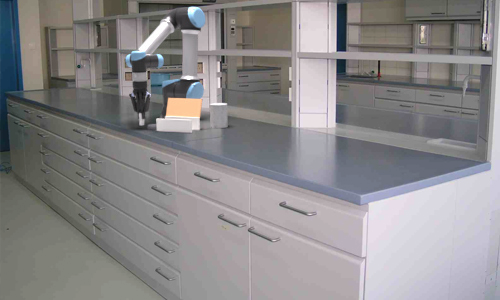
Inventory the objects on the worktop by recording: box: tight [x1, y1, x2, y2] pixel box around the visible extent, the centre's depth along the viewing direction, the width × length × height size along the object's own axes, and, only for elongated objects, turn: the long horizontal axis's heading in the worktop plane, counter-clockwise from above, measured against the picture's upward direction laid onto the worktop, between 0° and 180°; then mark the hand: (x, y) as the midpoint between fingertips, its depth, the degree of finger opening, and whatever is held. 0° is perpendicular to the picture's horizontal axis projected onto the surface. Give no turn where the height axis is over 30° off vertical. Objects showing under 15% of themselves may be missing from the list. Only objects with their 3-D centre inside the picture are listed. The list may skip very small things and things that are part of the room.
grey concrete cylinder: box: [209, 102, 229, 129], centre depth 295 cm, size 10×10×12 cm
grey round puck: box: [147, 123, 157, 131], centre depth 291 cm, size 6×6×2 cm
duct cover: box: [166, 98, 203, 118], centre depth 290 cm, size 10×20×1 cm
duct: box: [155, 116, 201, 134], centre depth 285 cm, size 10×20×6 cm, turn 69°
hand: (142, 125), depth 293 cm, fingers closed
